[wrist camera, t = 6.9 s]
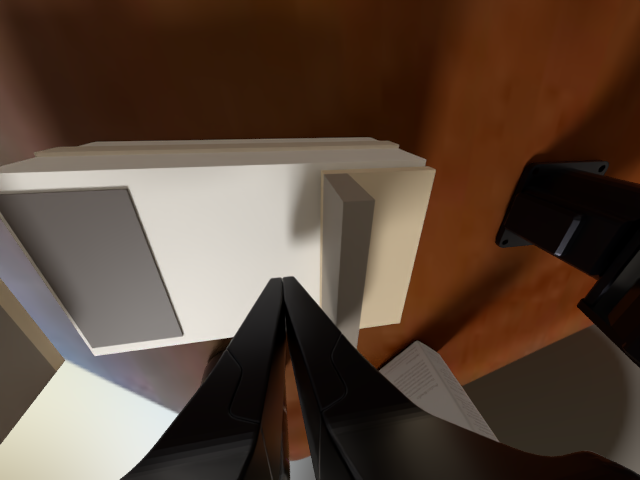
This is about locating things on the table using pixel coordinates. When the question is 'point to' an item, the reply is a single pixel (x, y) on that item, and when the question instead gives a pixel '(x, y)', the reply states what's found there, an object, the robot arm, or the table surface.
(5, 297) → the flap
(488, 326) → the table surface
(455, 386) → the skincare box
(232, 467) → the robot arm
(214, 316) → the carton
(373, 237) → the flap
